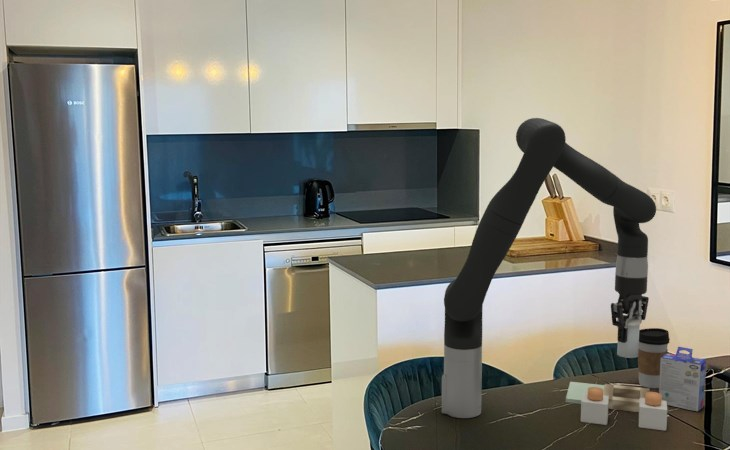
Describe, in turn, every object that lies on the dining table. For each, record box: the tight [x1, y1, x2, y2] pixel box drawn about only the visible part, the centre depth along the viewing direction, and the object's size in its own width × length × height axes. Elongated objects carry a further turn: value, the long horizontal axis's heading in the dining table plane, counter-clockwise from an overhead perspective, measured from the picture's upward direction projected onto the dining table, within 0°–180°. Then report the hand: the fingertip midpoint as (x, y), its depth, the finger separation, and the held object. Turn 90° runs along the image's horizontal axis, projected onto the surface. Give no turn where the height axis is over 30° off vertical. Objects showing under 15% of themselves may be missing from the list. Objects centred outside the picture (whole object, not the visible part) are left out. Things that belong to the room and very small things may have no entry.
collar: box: [603, 383, 651, 413], centre depth 187 cm, size 11×11×2 cm
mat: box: [565, 381, 605, 405], centre depth 193 cm, size 9×13×1 cm
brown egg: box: [645, 391, 662, 406], centre depth 174 cm, size 4×4×6 cm
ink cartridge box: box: [658, 346, 707, 412], centre depth 185 cm, size 10×6×14 cm, turn 53°
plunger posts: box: [580, 393, 668, 431], centre depth 176 cm, size 19×7×5 cm, turn 70°
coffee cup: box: [637, 327, 671, 389], centre depth 199 cm, size 8×8×15 cm
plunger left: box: [587, 387, 603, 400], centre depth 177 cm, size 4×4×6 cm
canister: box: [616, 315, 641, 359], centre depth 185 cm, size 5×5×10 cm
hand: (628, 339), depth 185 cm, fingers closed on canister, 5 cm apart
